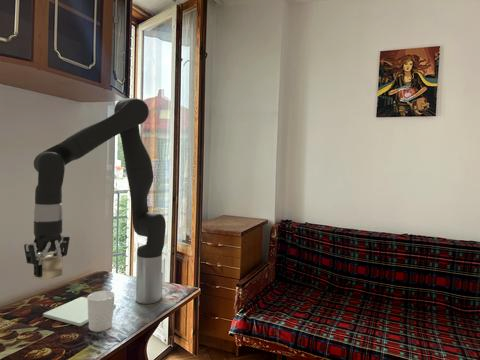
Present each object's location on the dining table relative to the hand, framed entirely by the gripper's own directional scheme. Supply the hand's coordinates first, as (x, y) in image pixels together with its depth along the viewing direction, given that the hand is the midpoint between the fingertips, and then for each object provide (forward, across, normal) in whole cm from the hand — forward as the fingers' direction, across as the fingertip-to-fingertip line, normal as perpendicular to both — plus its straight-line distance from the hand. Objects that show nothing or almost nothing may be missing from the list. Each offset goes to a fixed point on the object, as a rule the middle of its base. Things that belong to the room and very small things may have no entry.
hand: (47, 273), depth 103 cm
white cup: (+18, -8, +13) cm, 23 cm away
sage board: (+17, -14, -1) cm, 22 cm away
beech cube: (+1, 0, 0) cm, 1 cm away
